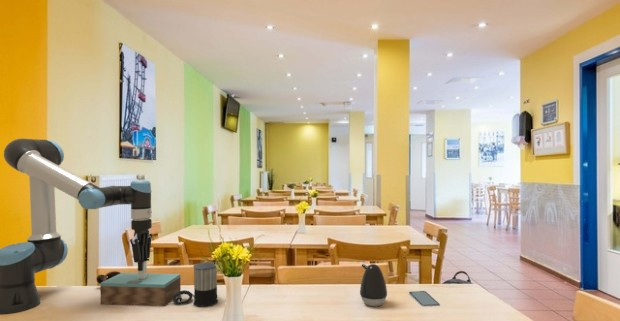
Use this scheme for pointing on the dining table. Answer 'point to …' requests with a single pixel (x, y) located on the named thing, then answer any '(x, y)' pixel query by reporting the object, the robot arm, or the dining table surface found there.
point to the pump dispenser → (373, 286)
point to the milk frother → (202, 286)
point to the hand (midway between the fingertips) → (142, 277)
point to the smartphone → (424, 298)
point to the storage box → (139, 295)
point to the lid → (141, 280)
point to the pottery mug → (103, 277)
